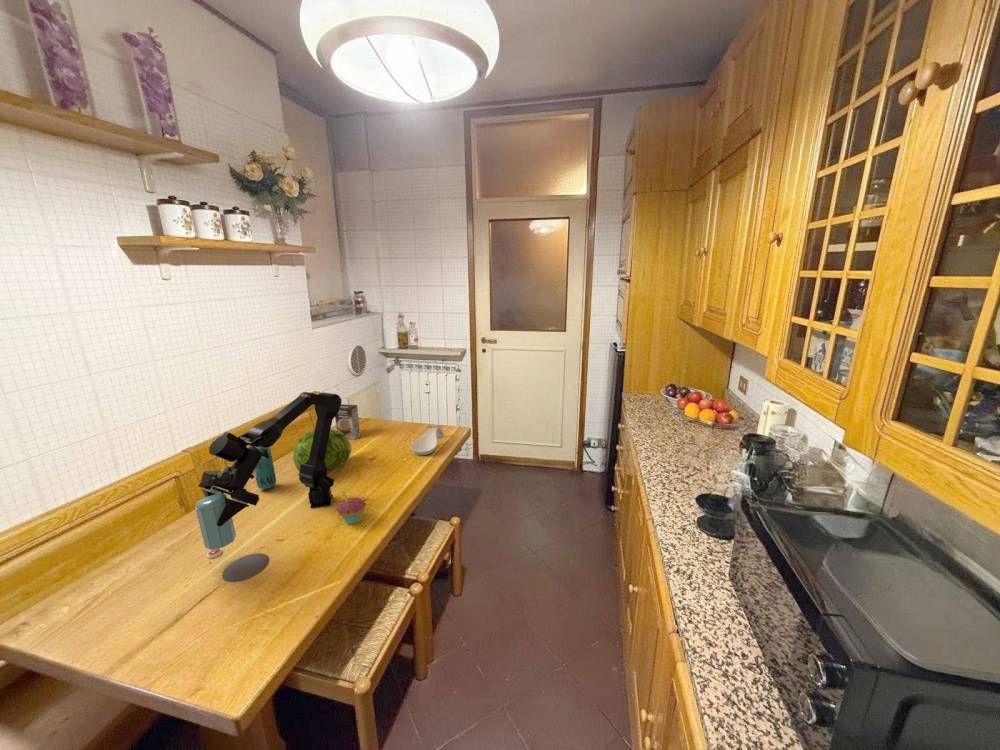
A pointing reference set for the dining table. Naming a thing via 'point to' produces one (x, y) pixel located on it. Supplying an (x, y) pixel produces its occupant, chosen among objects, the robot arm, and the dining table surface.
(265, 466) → the beverage bottle
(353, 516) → the cupcake
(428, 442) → the spoon rest
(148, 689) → the dining table surface
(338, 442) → the lettuce
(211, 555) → the dip bowl
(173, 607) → the dining table surface
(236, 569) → the disc
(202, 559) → the dining table surface
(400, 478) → the dining table surface
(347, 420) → the coffee box
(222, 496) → the blue-grey tall faceted cylinder
